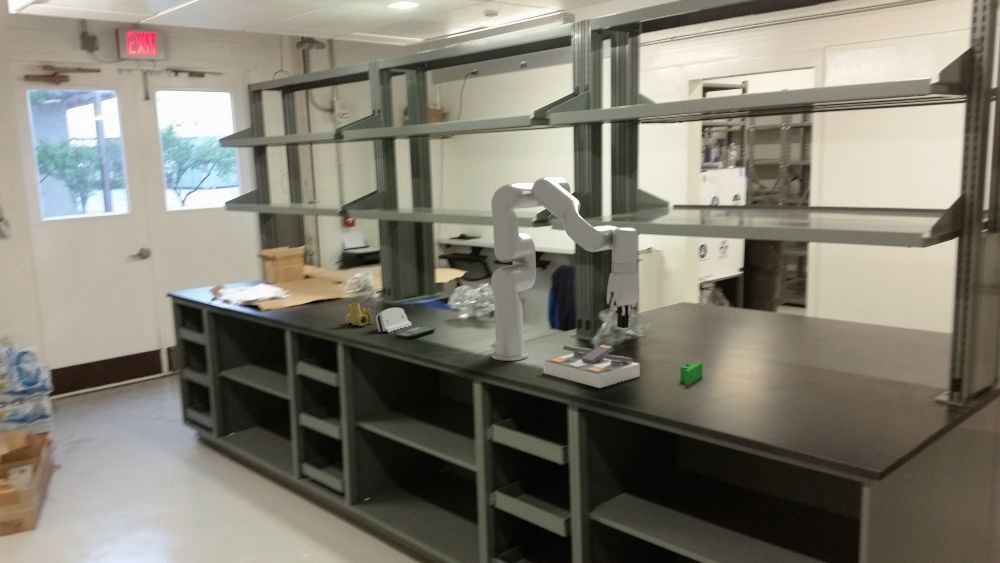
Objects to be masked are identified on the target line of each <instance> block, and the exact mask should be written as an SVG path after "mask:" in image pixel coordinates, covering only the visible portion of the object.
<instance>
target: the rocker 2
mask: <svg viewBox="0 0 1000 563" xmlns="http://www.w3.org/2000/svg"><path fill="white" fill-rule="evenodd" d="M592 350H593V351H591V352H590V353H588V354H587V355H585V356H583V357H582V358H581V359H582V361H583V362H587V363H591V364H593V363H594V362H596V361H597V360H599V359H600V358H601V357H600V356H601V354H607V355H609V354H610V353H611V352H613V351H614V348H613V346H611V345H606V344H601V345H599V346H598V347H596V348H595V349H592Z"/></svg>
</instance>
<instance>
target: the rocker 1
mask: <svg viewBox="0 0 1000 563" xmlns="http://www.w3.org/2000/svg"><path fill="white" fill-rule="evenodd" d="M562 350H565V351H569V352H572V353H574V352H581V353H590V352H591V351H593V350H594V349H592V348H588V347H576V346H570V345H563V348H562Z"/></svg>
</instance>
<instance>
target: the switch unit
mask: <svg viewBox="0 0 1000 563" xmlns="http://www.w3.org/2000/svg"><path fill="white" fill-rule="evenodd" d="M587 354H588V353H581V352H572V353H569V354H566V355H562V356H561V355H560V356H557V357H554V358H550V359H549V358H548V359H545V360H543V374H544V375H549V376H553V377H556V378H561V379H565V380H568V381H572V382H576V383H579V384H583V385H587V386H591V387H594V388H598V389H601V388H604V387H609V386H612V385H615V384H619V383H622V382H625V380H626V381H629V380H631V379H635V378H638V377H640V375H641V371H640V370H641V369H640V368H641V363H638V362H632V363H629V362H622V361H615V360H609V359H605V358H600V359H599V360H597V361H596V362H594V363H593V364H591V363H587V362H583V361H582V359H581V358H582V357H583V356H585V355H587ZM621 381H622V382H621ZM618 382H619V383H618Z"/></svg>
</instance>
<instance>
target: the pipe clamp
mask: <svg viewBox="0 0 1000 563" xmlns="http://www.w3.org/2000/svg"><path fill="white" fill-rule="evenodd" d="M679 375H680V382H683V383H684V385H685V386H690V385H692V384H693V383H695V382H696V381H698V380H699V379H700V378H702V377H703V362H701V361H699V362H697V363H695V364H694V363H686V365H685V366H680V374H679Z"/></svg>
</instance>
